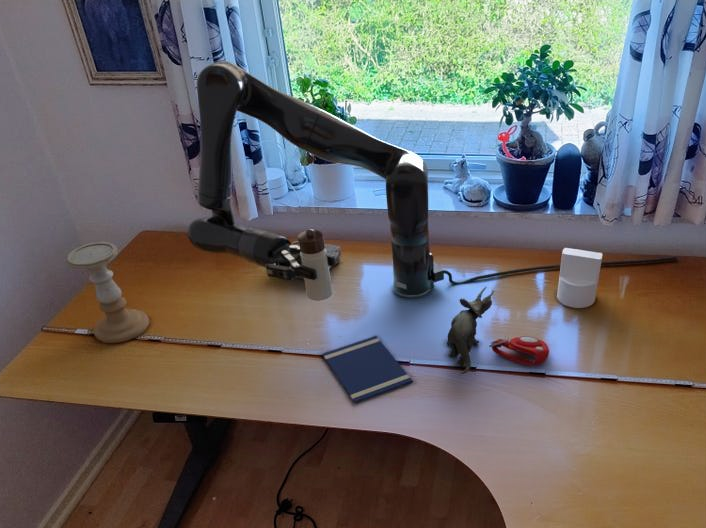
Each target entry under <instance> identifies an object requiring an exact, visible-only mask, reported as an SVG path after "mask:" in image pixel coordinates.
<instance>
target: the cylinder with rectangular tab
mask: <svg viewBox="0 0 706 528" xmlns="http://www.w3.org/2000/svg"><path fill="white" fill-rule="evenodd" d="M602 260H603V252H597V251H591V250H584V249H576V248H570V247H564V248H563V249H562V252H561V260H560V264H561V267H560V269H559V277H558V285H557V293H556V299H557V300H558V302H559V303H560V304H561V305H564V306H565V307H568V308H569V307H570V308H574V309H583V308H588V307H590V306H592V305H593V304H594V303H595V301H596V296H597V291H598V285H599V279H600V272H601V266H602V265H601V262H603V261H602Z"/></svg>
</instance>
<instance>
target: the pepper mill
mask: <svg viewBox="0 0 706 528" xmlns="http://www.w3.org/2000/svg"><path fill="white" fill-rule="evenodd" d="M297 239H298V240H297V241H299V246H300V251H301V252H300V257H301V263H302V265H303V266H306V267H309V268H312V269H315V270H316V273H317V279H315V280H312V279H307V278H304V279H303V280H304V285H305V292H306V297H307V298H308V299H309V300H311V301H316V302H320V301H325V300H328V299H329V298H331V297H332V296H333V287H332V279H331V272H330V268H329V265H328V258H327V251H326V249H325V244H326V243H325V238H324V233H323V232H322V231H321V230H317V229H312V228H307V229H306V230H304V231H302V232H300V233H299V234H298V236H297Z"/></svg>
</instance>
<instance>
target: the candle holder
mask: <svg viewBox="0 0 706 528" xmlns="http://www.w3.org/2000/svg"><path fill="white" fill-rule="evenodd" d="M118 254H119V248H118V247H117V245H116V244H115V243H112V242H109V241H97V242H90V243H87V244H83V245H81V246H77V247H76V248H74V249H73V250H71V251H70V252H69V253H68V254H67V256H66V259H65V260H66V263H67V264H68V266H70V267H71V268H73V269H78V270H86V269H87V270H89V272H90V275H89V277H88V281H89V282H91V283H93V284H94V289H95V292H94V293H95V299H96V301H98V302H99V306H98V308H99V310H100V312H103V313H104V316H103V317H102V318H100V319H99V320H98V321H97V322H96V323H95V325H94V327H93V335H94V337H95V338H96V340H98V341H99V342H101V343H105V344H119V343H124V342H127V341H130V340H132V339H135V338H137V337H139V336H140V335H142V334H143V333H144V332H145V331H146V330H147V329H148V327H149V325H150V319H149V316H148V314H146V312H144V311H142V310H139V309H133V308H132V309H131V308H126V305H127V299H126V298H125V297H123V296H122V295H123V293H122V289H121V288H120V287H119V286H118V284H117V283H116V282H115V280H114V279H113V277H114V272H113V271H112V270H111V269H108V267H107V264H108V263H110V262H111V261H113V260H115V258H116V257H117V256H118Z"/></svg>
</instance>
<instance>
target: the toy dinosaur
mask: <svg viewBox="0 0 706 528" xmlns="http://www.w3.org/2000/svg"><path fill="white" fill-rule="evenodd" d="M486 289H487V286H485V287H484V288H482V289H481V290H480V292H479V293H478V294H477V296H476V298H475V299H474V300H472V301H468V300H467V299H465V298H460V299H459V303H460V305H461V306H462V307H463V308H466V309H463V310H460V311H459V313H458V314H457V315H455V316H454V317H453V318H452V320H451V323H450V328H449V331H448V333H447V336H446V339H447V341H446V345H447V346H448V347H449V348H450V351H449V353H448V355H447V356H448V357H450V358H453V359H455V358H458V356H459V355H460V357H459V358H458V359H457V361H456V364H457V366H459V367H460V368H463V371H461V372H460V375H464V374H467V373H468V372H470V370H471V367H472V361H471V355H470V353H471V350H472V348H473V347H478V346H479V343H480V340H478V339H477V338H476V337H475V336H476V334H477V326H478V323H477V322H478V321H477V319H482V318H483V316H482V315H484V314H485V313H486V312H487V311H488V310H489V309H490V308H491V307H492V305H493V300H492V296H493V295H494V292H495V290H492V292H491V293H490V294H489V295H487V296H485V297H483V299H482V295H483V293H484V292H485V290H486Z"/></svg>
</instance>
